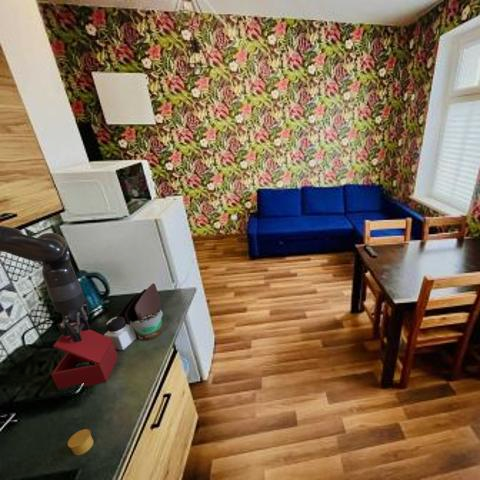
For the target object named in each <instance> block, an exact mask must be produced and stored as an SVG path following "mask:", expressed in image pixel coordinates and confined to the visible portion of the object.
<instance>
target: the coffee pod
mask: <svg viewBox="0 0 480 480" xmlns="http://www.w3.org/2000/svg"><path fill="white" fill-rule="evenodd" d="M67 441H68V442H67V446H68V448H70V450H71V451H72V453H73V455H75V456H81V455H83V454H85V453H87V452H88V451H89V450H91V448H92V447H93V446H94V438H93V437H92V435H91V430H90V429H88V428H84V429H81V430H78V431H77V432H75V433H74V434H72V436H71V437H69V440H67Z"/></svg>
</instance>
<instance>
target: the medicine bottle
mask: <svg viewBox="0 0 480 480" xmlns="http://www.w3.org/2000/svg"><path fill="white" fill-rule="evenodd" d="M105 326H106V329H107V330H108V331H107V332H105V333H104V334H103V336H106V337H108V338H110V339H112V342H113V345H114V347H115V350H119V351H124V350H125V349H126V348H127V347H129V346H131V344H132V343H133V342H135V340H136V339H137V338H138V336H137V334H136V332H135V331H134V328H133V327H131V326H130V325H127V324H126V321H125V318H124V317H117V316H115V317H112V318H111V319H109V320H108V321H107V322H106V325H105Z"/></svg>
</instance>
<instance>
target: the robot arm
mask: <svg viewBox="0 0 480 480" xmlns="http://www.w3.org/2000/svg"><path fill="white" fill-rule="evenodd" d="M0 252H2V253H7V254H9V255H12V256H16V257H18V258H22V259H25V260H28V261H32V262H39V263H41V265H42V268H41V275H42V278H43V281H44V284H45V286H46V290H47V293H48V296H49V298H50V301H51V303H52V306H53V308H54V311H55V312H57V313H60V314H61V317H62V322H58V323H57V328H58V330H59V331H60V332H61V334H63V335H64V336H65V337H66V336H71V337H72V340H73V342H80V341H81V340H82V337H81V334H80V332H79V328H78V326H79V325H80V323H84V324H85V326H84V327H83V329H82V331H86V330H89V329H90V328H91V327H90V324H89V322H88V320H89V316H90V314H91V312H90V306H89V301H88V299H86V298H85V295H84V293H83V290H82V287H81V284H80V281H79V280H78V279H77V275H76V273H75V270H74V268H73V265H72V262H71V254H70V250H69V245H68V242H67V241H66V239H65V238H64V237H63V236H62V235H60V234H58V233H55V232H46V233H45V232H44V233H43V234H40V235H39V236H37V237H34V236H31V235H28V234H24V233H23V231H22V230H21V229H18V228H16V227H11V226H6V225H1V224H0ZM74 322H75V324H71V323H74ZM72 327H75V330H74V329H73V328H72ZM90 330H91V329H90Z"/></svg>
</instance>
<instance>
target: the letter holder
mask: <svg viewBox="0 0 480 480" xmlns="http://www.w3.org/2000/svg"><path fill="white" fill-rule="evenodd" d="M161 305H162V303H161V299H160V295H159V292H158V289H157V286H156V283H154V282H153V283H151V284H150V285H149V286H148V287H147V288H144V289H143V290H141V292H140V293H136V294H134V295H133V296H132V297H131V298H130V299H129V300H128V301H127V303H125V304H124V306H123V307H122V308H121V310H120V311H119V313H118V314H117V315H116V317H124V318H125V321H126V324H127V325H130V321H131V322H133V321H136V320H138V319H140V318H142V317H144V316H146V315H148V314H152V313H154V312H157V311H159V308H160V307H161ZM134 331H135V330H134Z"/></svg>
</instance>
